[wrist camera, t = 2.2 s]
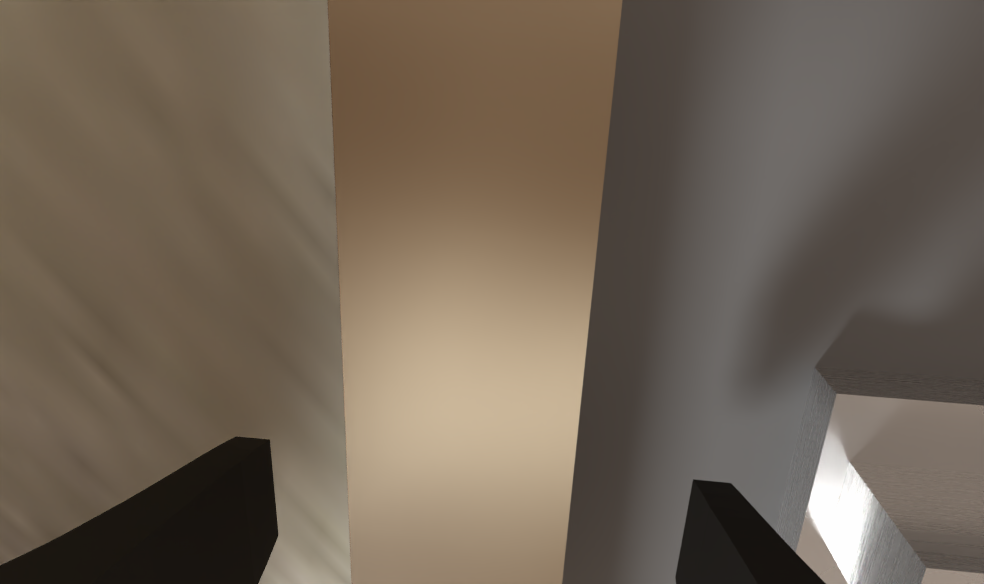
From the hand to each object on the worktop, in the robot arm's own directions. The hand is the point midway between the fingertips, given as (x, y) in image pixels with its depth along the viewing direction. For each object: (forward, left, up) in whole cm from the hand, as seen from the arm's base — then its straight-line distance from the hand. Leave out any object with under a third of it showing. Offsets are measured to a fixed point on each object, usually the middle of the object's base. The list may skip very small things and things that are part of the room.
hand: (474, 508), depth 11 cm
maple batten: (0, 0, -2) cm, 2 cm away
